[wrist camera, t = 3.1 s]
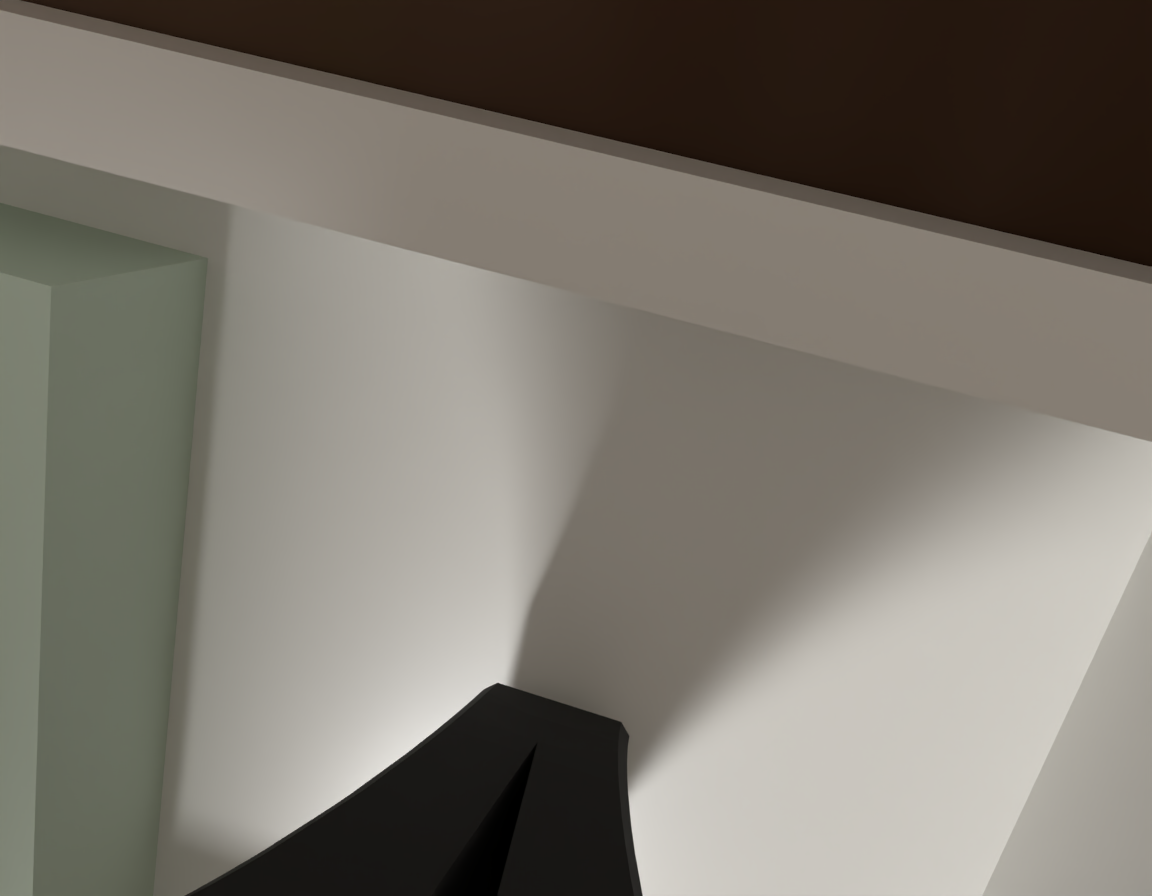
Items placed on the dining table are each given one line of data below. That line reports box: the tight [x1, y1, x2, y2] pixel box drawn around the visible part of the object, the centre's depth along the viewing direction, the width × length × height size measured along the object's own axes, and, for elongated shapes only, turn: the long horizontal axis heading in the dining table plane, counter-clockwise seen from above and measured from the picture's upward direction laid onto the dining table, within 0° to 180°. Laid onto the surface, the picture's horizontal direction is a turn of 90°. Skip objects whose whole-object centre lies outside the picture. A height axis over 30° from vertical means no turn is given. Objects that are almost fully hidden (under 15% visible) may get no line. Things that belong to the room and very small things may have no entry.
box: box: [0, 0, 1152, 896], centre depth 10 cm, size 12×21×4 cm, turn 78°
